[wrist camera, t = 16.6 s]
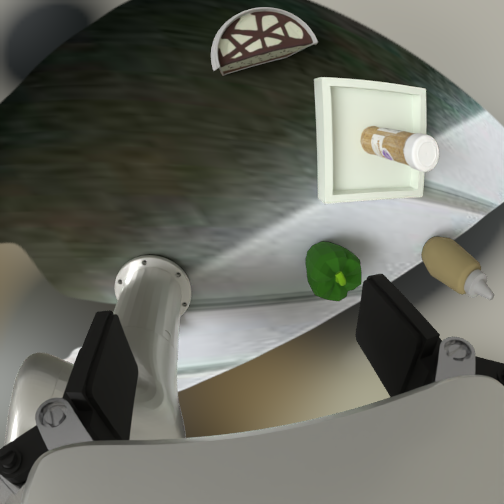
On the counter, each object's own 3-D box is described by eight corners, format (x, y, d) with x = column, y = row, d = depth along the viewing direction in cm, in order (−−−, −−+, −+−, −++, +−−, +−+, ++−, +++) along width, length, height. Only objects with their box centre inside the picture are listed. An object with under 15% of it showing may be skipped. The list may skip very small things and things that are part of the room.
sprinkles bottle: (354, 143, 42) (406, 158, 30) (368, 119, 41) (424, 126, 29) (375, 160, 44) (429, 180, 32) (389, 136, 42) (446, 150, 30)
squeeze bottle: (422, 275, 56) (476, 326, 40) (412, 246, 53) (473, 296, 37) (449, 252, 55) (507, 296, 39) (441, 222, 52) (505, 264, 35)
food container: (282, 18, 34) (304, -5, 25) (296, 55, 36) (322, 41, 28) (197, 40, 34) (195, 20, 25) (211, 79, 37) (214, 68, 28)
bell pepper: (345, 272, 53) (371, 304, 44) (301, 283, 52) (320, 319, 43) (344, 228, 49) (373, 254, 40) (296, 238, 48) (317, 268, 39)
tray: (412, 192, 48) (422, 196, 45) (317, 198, 46) (324, 203, 43) (414, 88, 40) (425, 88, 37) (313, 79, 38) (321, 77, 36)
